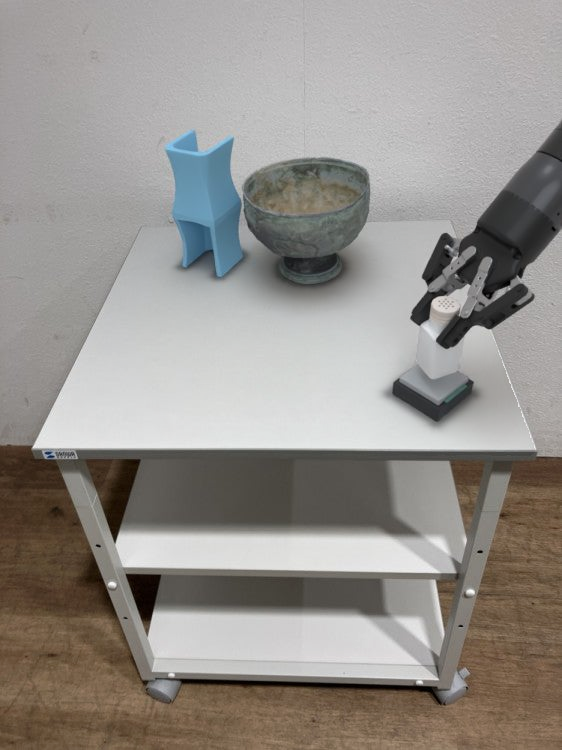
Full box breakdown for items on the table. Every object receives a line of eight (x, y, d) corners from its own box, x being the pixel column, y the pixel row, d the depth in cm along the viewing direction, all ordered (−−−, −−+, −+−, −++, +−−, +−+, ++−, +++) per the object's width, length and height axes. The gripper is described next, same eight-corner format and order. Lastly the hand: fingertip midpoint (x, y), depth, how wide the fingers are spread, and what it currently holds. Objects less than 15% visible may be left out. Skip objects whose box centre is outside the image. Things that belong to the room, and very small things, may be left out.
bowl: (271, 231, 111) (265, 148, 101) (378, 244, 105) (383, 158, 95) (229, 292, 97) (217, 203, 87) (349, 311, 92) (352, 219, 82)
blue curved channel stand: (246, 254, 105) (234, 136, 92) (221, 277, 100) (204, 156, 87) (208, 244, 108) (191, 129, 95) (182, 266, 104) (160, 148, 90)
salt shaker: (430, 382, 73) (440, 318, 67) (413, 362, 76) (420, 299, 70) (460, 373, 74) (471, 308, 68) (442, 353, 77) (451, 290, 71)
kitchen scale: (471, 393, 78) (475, 376, 76) (437, 421, 74) (439, 405, 73) (426, 367, 82) (429, 351, 80) (392, 393, 78) (393, 377, 77)
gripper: (471, 167, 68) (374, 291, 73) (571, 220, 59) (452, 359, 63) (500, 199, 74) (408, 313, 78) (596, 252, 64) (484, 379, 68)
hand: (428, 333), depth 71 cm, fingers closed on salt shaker, 4 cm apart
